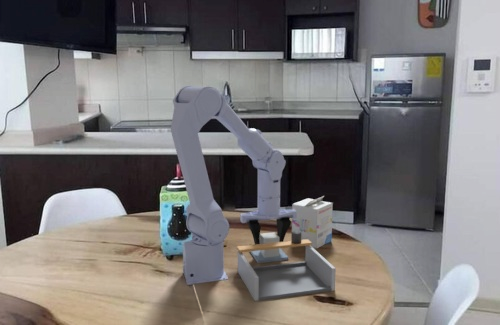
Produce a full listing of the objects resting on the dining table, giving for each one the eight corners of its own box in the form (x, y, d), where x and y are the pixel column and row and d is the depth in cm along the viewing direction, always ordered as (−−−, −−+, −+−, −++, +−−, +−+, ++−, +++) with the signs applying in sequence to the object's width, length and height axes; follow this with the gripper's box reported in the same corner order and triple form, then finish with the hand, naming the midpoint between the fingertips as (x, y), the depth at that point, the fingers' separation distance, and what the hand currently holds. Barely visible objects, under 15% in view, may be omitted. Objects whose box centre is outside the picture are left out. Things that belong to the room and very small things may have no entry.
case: (254, 303, 92) (254, 277, 91) (237, 273, 106) (237, 251, 105) (334, 292, 96) (335, 268, 95) (308, 265, 110) (308, 243, 109)
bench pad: (258, 264, 111) (258, 260, 110) (249, 253, 118) (249, 248, 118) (288, 261, 113) (288, 257, 112) (278, 250, 120) (278, 245, 120)
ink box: (307, 235, 132) (308, 191, 129) (332, 241, 127) (333, 196, 124) (290, 243, 125) (291, 197, 123) (316, 250, 120) (317, 202, 118)
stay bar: (239, 252, 103) (239, 240, 102) (237, 248, 105) (236, 236, 105) (311, 245, 108) (311, 233, 107) (307, 241, 110) (308, 229, 109)
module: (264, 257, 112) (264, 238, 111) (259, 251, 116) (259, 233, 115) (279, 256, 113) (279, 237, 112) (274, 250, 117) (274, 232, 116)
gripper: (245, 201, 107) (245, 255, 109) (301, 197, 111) (300, 249, 113) (238, 194, 114) (238, 245, 116) (291, 191, 117) (290, 239, 120)
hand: (268, 246), depth 115 cm, fingers open, 5 cm apart
